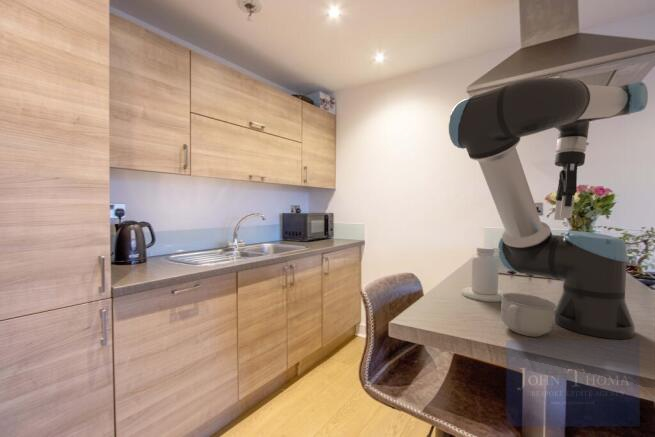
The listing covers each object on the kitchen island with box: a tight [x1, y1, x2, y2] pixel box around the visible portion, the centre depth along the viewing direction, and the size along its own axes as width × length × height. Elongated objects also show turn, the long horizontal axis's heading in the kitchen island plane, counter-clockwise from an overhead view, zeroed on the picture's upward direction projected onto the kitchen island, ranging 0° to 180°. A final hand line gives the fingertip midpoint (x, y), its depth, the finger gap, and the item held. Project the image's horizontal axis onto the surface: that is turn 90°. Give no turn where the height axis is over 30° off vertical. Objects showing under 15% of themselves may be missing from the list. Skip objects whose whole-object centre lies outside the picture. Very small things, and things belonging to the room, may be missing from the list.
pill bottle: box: [471, 246, 499, 295], centre depth 103 cm, size 8×8×15 cm
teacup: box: [500, 292, 557, 338], centre depth 73 cm, size 14×11×8 cm
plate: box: [461, 286, 507, 303], centre depth 104 cm, size 14×14×1 cm
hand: (562, 219), depth 98 cm, fingers open, 13 cm apart
